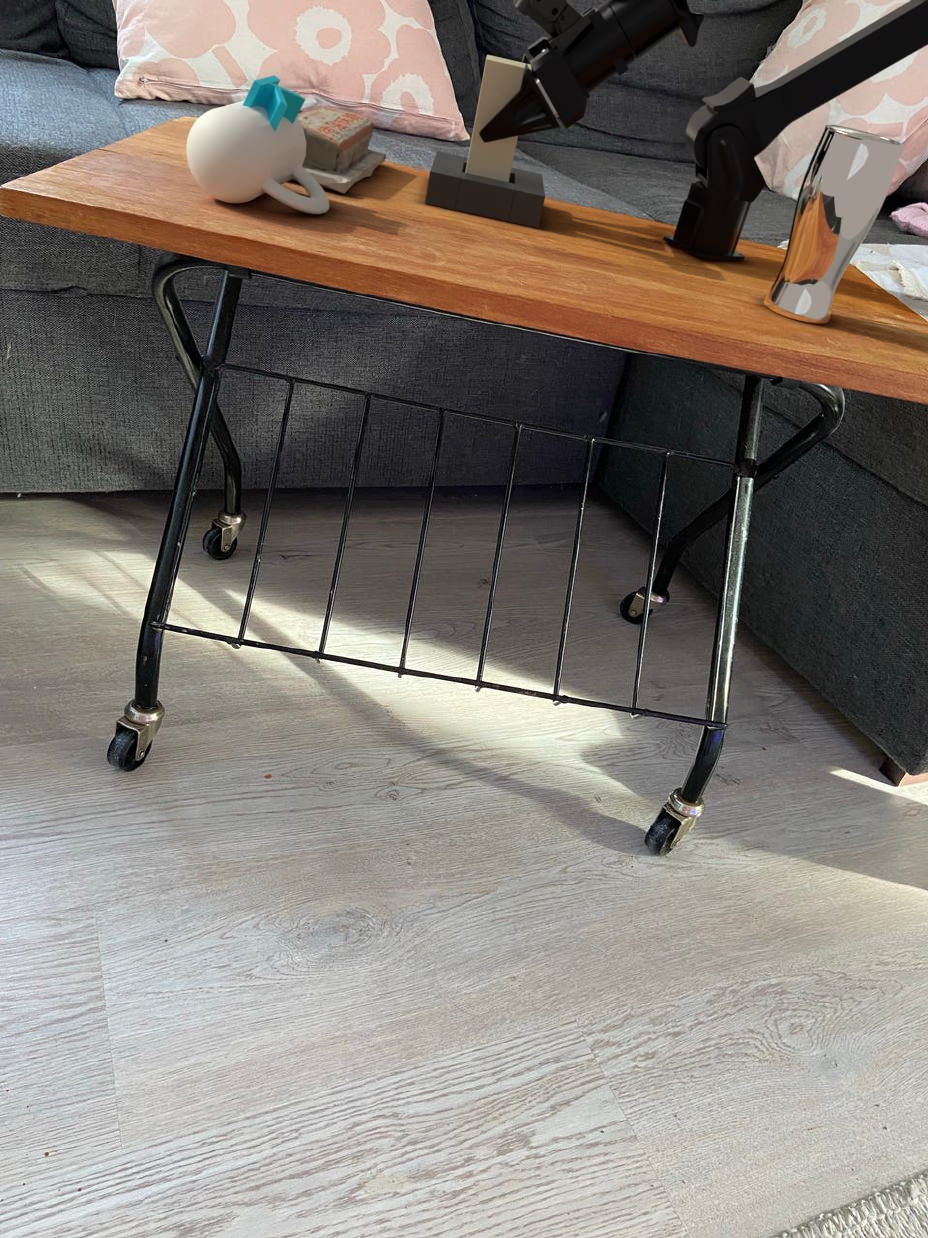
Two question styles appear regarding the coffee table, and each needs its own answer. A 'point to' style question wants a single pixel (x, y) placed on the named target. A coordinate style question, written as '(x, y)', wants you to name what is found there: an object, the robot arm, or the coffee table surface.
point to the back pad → (494, 94)
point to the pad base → (485, 192)
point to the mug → (254, 149)
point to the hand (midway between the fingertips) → (482, 131)
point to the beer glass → (832, 219)
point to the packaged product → (338, 147)
